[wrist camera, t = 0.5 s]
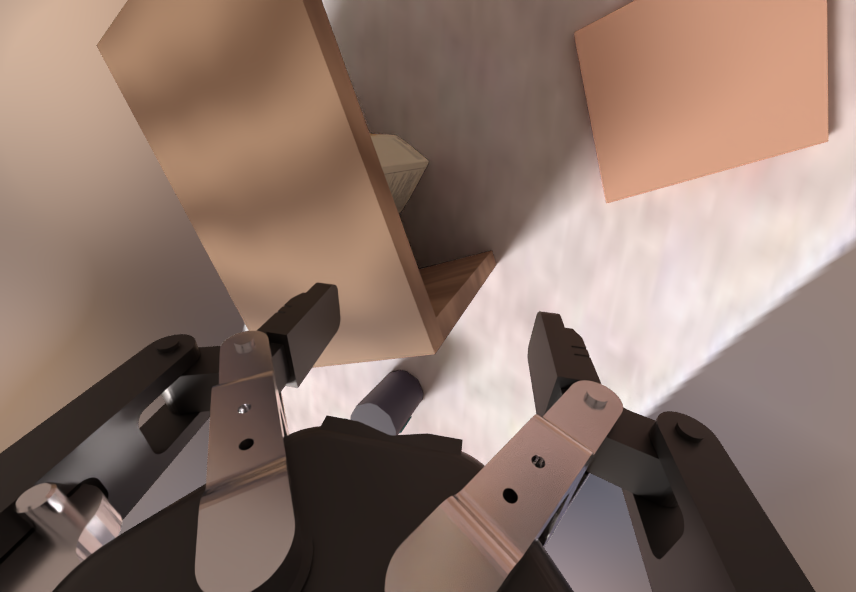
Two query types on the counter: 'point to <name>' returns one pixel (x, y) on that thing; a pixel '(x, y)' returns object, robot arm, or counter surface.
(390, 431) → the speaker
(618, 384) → the counter surface
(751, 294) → the counter surface
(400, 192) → the skincare box
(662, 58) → the terracotta tile
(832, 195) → the counter surface
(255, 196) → the walnut shelf
